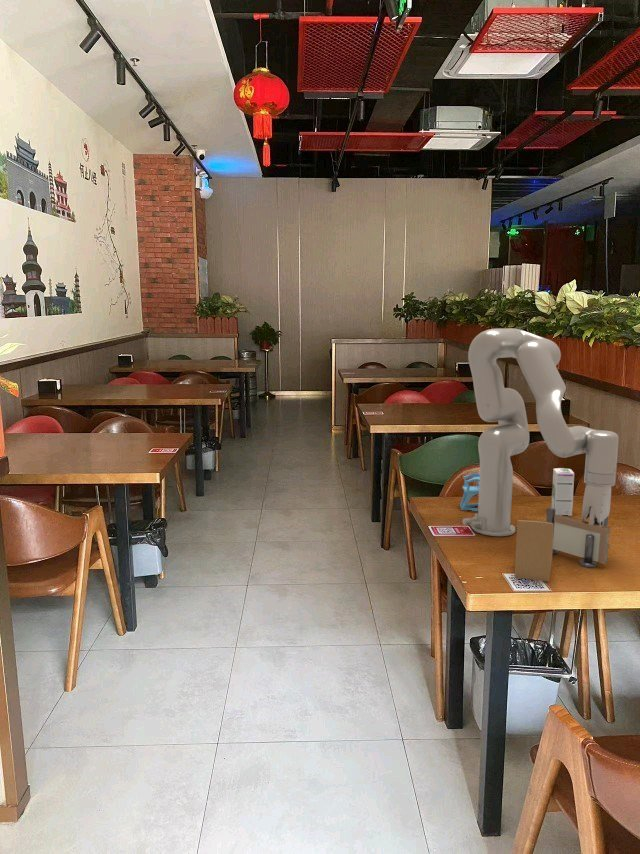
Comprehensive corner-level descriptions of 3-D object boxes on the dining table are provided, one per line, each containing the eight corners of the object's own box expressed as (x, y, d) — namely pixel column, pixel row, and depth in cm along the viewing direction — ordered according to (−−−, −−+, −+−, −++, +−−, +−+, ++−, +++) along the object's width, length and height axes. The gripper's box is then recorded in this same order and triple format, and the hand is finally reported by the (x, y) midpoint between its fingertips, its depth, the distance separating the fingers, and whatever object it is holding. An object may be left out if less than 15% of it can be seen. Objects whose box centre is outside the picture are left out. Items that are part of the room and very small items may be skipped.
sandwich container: (550, 560, 173) (553, 505, 170) (550, 582, 159) (554, 523, 156) (516, 556, 176) (519, 502, 173) (513, 577, 161) (517, 519, 159)
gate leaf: (552, 549, 177) (554, 516, 175) (555, 547, 178) (558, 514, 177) (603, 564, 167) (606, 529, 165) (607, 562, 168) (610, 527, 166)
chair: (458, 505, 221) (459, 471, 219) (483, 505, 221) (484, 471, 219) (462, 512, 213) (463, 476, 211) (487, 512, 213) (489, 477, 211)
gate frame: (569, 570, 166) (573, 525, 163) (535, 548, 181) (538, 507, 178) (641, 562, 171) (645, 519, 169) (601, 542, 186) (605, 502, 184)
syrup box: (572, 516, 210) (575, 472, 207) (553, 515, 210) (556, 471, 208) (568, 511, 215) (571, 468, 213) (550, 510, 216) (552, 467, 213)
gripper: (593, 470, 178) (588, 534, 181) (576, 481, 167) (571, 549, 170) (622, 474, 174) (616, 540, 177) (607, 485, 162) (601, 555, 165)
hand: (594, 544), depth 173 cm, fingers closed
